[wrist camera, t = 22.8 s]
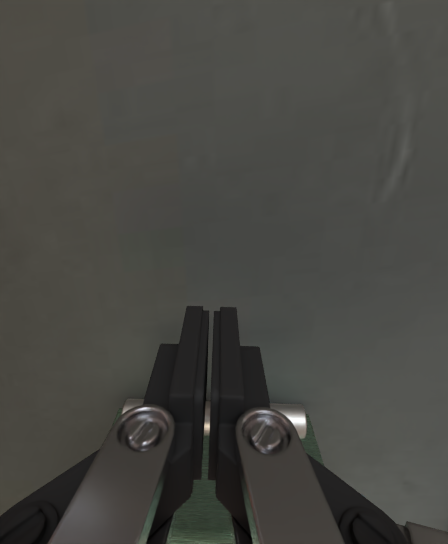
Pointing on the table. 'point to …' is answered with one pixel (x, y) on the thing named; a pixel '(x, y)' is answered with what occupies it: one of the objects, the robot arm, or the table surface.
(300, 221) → the table surface
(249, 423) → the robot arm
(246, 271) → the table surface
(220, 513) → the fridge drawer
